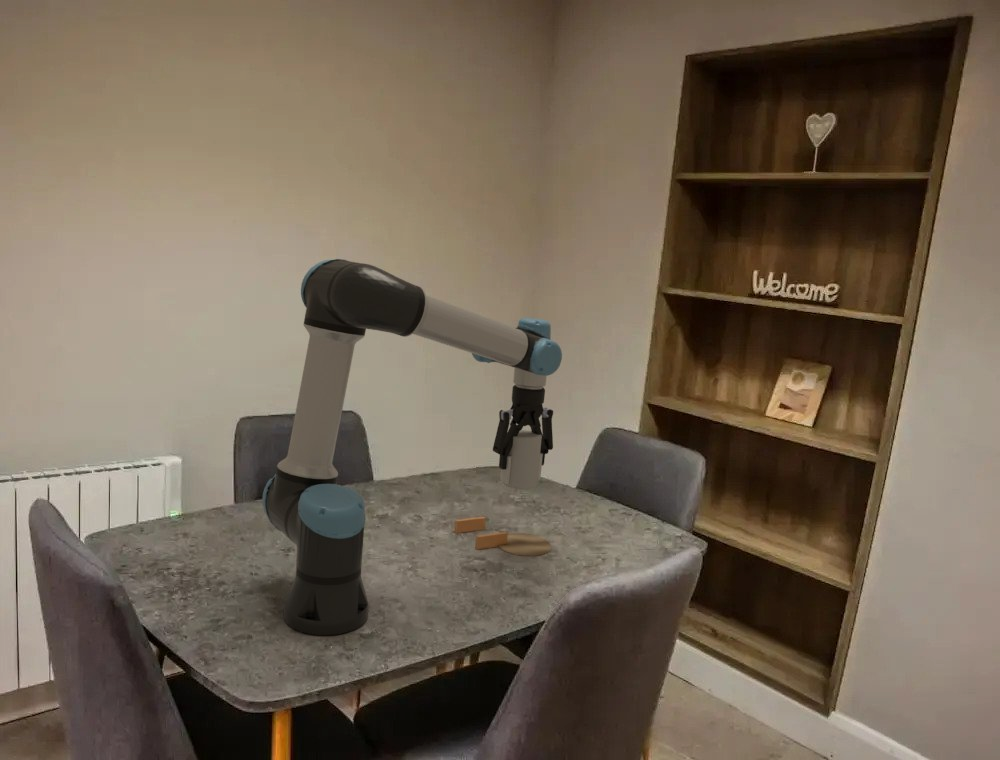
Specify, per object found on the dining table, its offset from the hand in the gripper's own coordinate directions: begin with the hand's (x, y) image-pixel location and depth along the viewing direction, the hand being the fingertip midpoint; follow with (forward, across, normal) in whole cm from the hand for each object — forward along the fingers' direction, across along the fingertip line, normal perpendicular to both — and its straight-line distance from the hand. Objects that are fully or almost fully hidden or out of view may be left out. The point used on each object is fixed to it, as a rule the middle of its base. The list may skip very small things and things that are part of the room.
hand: (520, 480), depth 184 cm
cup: (+1, 0, 0) cm, 1 cm away
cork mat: (+16, -1, +2) cm, 16 cm away
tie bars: (+16, +6, -5) cm, 18 cm away
